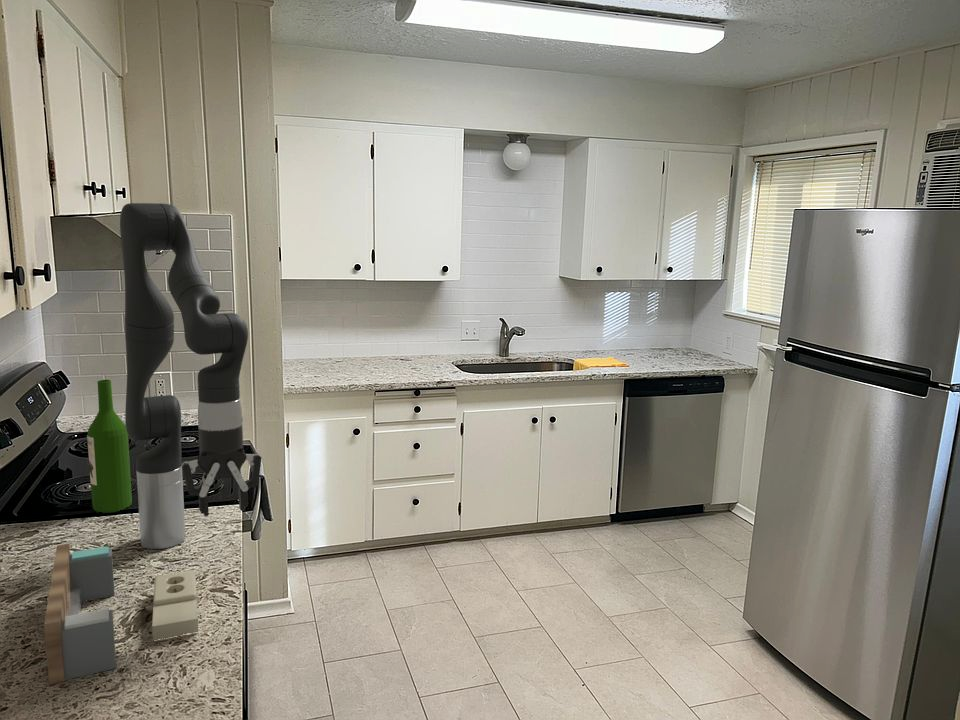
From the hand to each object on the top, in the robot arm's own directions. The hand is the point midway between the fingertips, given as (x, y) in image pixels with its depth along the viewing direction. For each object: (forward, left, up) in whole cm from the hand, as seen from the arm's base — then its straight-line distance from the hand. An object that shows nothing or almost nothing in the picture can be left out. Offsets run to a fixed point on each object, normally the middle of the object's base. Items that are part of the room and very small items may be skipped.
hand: (224, 511), depth 131 cm
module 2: (+13, -23, -18) cm, 31 cm away
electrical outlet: (0, -9, -18) cm, 20 cm away
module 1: (-13, -23, -18) cm, 31 cm away
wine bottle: (-62, -19, -18) cm, 67 cm away
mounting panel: (0, -27, -18) cm, 32 cm away
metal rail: (0, -25, -18) cm, 31 cm away
